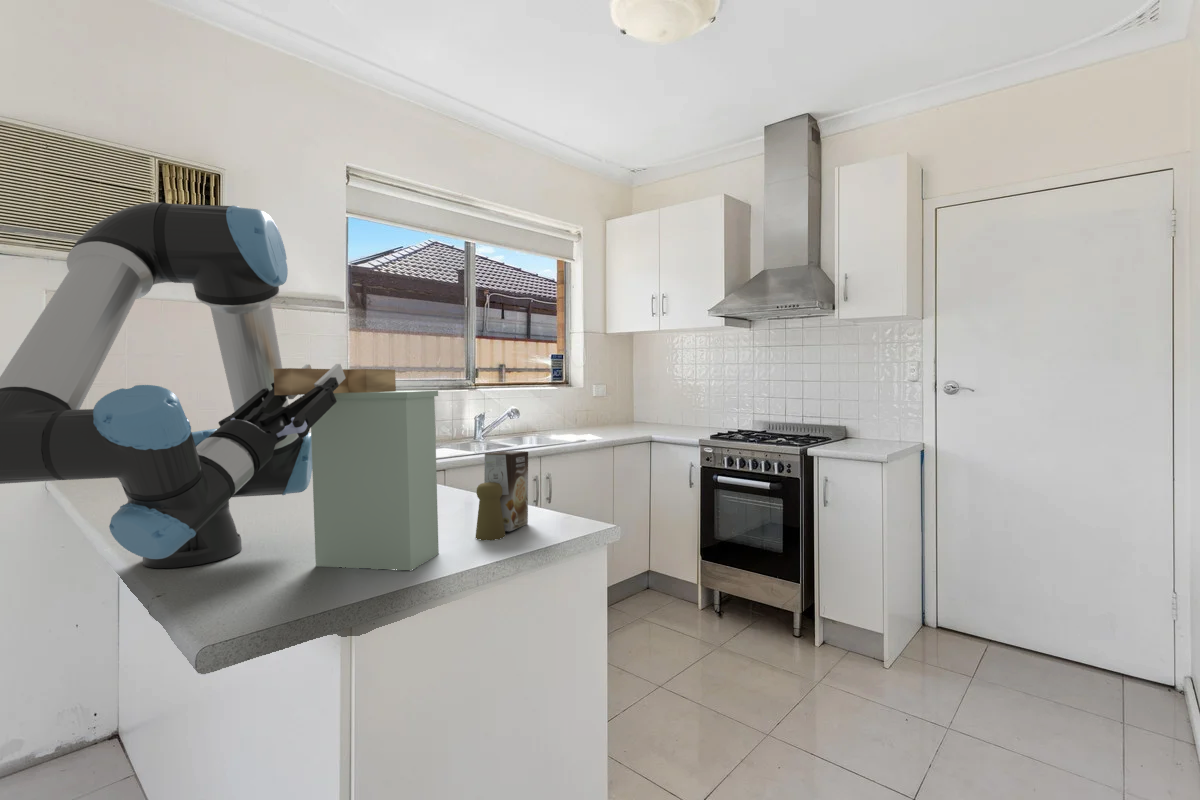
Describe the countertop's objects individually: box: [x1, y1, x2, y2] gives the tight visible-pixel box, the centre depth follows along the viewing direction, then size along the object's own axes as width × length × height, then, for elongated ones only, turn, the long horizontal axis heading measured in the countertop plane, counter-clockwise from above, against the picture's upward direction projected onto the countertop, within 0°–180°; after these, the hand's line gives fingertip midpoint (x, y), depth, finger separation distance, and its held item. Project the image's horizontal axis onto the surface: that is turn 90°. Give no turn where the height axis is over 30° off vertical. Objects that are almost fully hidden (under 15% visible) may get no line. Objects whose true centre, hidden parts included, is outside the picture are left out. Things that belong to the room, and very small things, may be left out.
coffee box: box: [483, 450, 529, 532], centre depth 127 cm, size 9×6×16 cm
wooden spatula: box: [274, 367, 397, 396], centre depth 100 cm, size 10×22×4 cm, turn 167°
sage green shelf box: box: [310, 390, 440, 571], centre depth 105 cm, size 19×11×30 cm, turn 79°
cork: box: [475, 482, 506, 541], centre depth 120 cm, size 6×6×11 cm
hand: (325, 371), depth 98 cm, fingers open, 5 cm apart
